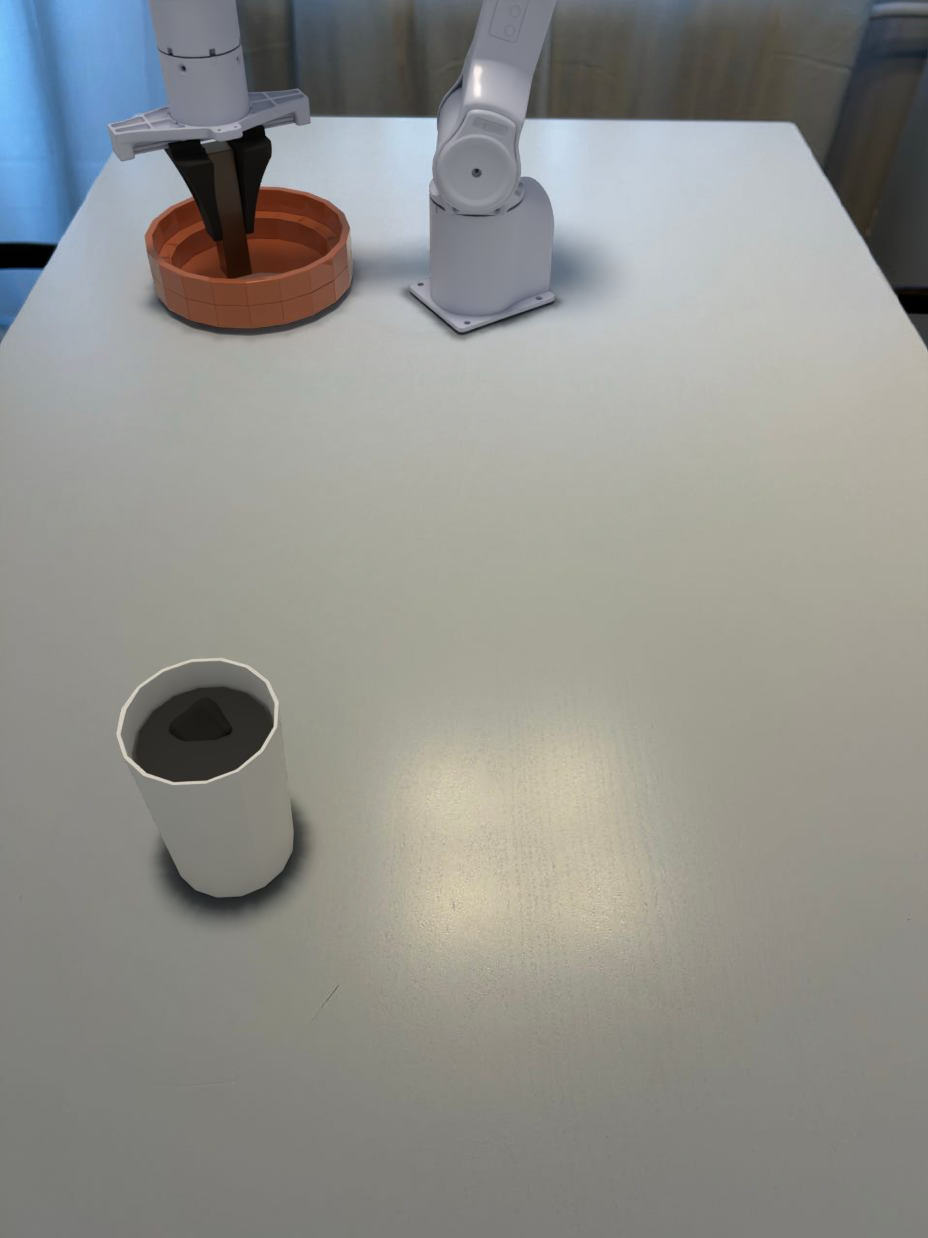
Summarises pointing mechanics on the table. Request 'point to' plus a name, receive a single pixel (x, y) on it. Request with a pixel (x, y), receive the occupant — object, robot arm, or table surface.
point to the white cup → (212, 772)
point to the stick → (229, 212)
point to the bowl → (254, 262)
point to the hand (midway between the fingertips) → (230, 231)
